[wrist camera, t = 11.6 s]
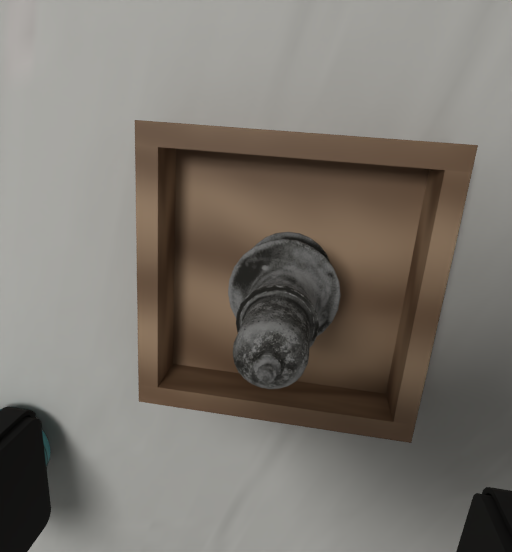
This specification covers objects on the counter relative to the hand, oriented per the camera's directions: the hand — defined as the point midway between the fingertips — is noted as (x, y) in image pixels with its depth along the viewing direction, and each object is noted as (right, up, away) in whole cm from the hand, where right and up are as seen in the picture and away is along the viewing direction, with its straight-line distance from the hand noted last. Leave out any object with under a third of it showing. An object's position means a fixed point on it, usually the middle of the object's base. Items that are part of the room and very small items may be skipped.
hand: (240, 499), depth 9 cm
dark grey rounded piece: (+2, +5, +16) cm, 17 cm away
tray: (+2, +5, +17) cm, 18 cm away
